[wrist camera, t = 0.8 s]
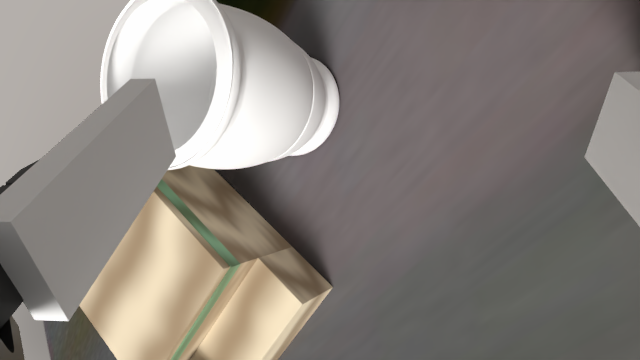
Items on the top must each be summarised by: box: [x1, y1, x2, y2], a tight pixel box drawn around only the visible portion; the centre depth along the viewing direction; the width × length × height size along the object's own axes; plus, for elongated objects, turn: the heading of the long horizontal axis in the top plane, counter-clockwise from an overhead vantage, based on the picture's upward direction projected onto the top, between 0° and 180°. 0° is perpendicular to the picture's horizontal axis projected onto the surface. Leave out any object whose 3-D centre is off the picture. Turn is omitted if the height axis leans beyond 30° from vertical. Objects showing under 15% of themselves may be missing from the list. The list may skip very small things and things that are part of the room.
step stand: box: [79, 165, 333, 360], centre depth 38 cm, size 19×14×9 cm
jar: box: [100, 0, 339, 170], centre depth 31 cm, size 11×10×15 cm
